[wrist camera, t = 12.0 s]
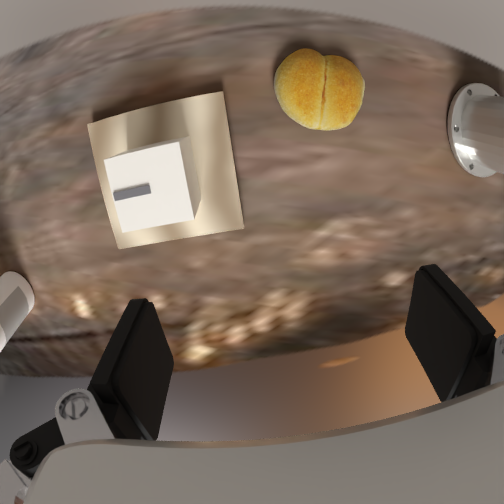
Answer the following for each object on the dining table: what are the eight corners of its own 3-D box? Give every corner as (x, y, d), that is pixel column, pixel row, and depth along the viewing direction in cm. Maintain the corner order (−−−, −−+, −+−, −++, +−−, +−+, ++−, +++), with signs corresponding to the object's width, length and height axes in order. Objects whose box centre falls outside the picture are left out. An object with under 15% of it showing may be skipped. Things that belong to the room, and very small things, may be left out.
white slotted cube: (189, 136, 28) (178, 141, 22) (201, 198, 30) (194, 220, 25) (127, 149, 28) (102, 160, 22) (141, 210, 30) (121, 233, 25)
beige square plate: (223, 92, 27) (221, 87, 22) (243, 223, 33) (246, 246, 28) (93, 123, 27) (66, 127, 22) (122, 243, 33) (104, 268, 28)
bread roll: (278, 45, 26) (284, 36, 22) (360, 65, 27) (376, 60, 23) (266, 121, 29) (271, 121, 26) (349, 137, 30) (364, 140, 27)
